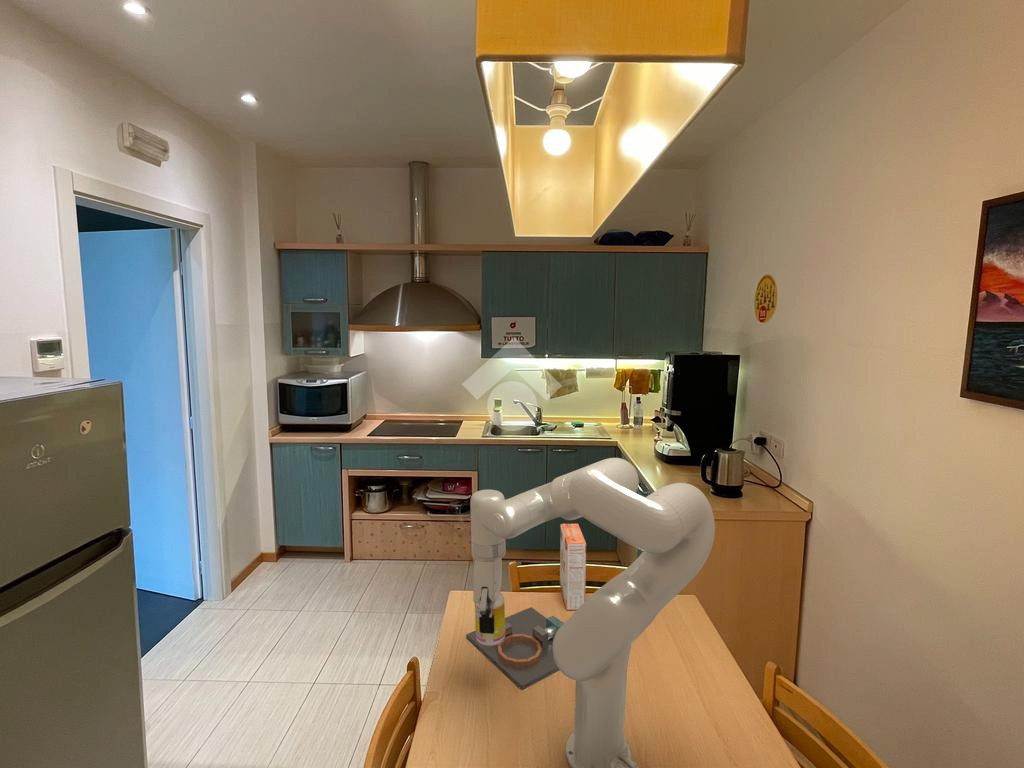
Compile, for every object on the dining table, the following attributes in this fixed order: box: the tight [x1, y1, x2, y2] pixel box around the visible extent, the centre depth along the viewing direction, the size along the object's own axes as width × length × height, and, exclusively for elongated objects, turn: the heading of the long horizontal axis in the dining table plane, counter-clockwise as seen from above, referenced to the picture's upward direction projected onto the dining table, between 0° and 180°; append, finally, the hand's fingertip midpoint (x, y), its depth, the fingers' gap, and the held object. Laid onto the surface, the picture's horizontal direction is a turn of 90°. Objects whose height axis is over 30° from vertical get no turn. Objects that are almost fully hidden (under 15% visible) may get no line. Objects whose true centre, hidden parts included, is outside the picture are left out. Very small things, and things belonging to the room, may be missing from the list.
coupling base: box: [465, 606, 565, 691], centre depth 136 cm, size 24×22×5 cm
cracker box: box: [559, 523, 587, 611], centre depth 158 cm, size 14×6×21 cm, turn 2°
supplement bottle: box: [474, 588, 506, 646], centre depth 118 cm, size 7×7×13 cm
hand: (490, 622), depth 118 cm, fingers closed on supplement bottle, 6 cm apart
